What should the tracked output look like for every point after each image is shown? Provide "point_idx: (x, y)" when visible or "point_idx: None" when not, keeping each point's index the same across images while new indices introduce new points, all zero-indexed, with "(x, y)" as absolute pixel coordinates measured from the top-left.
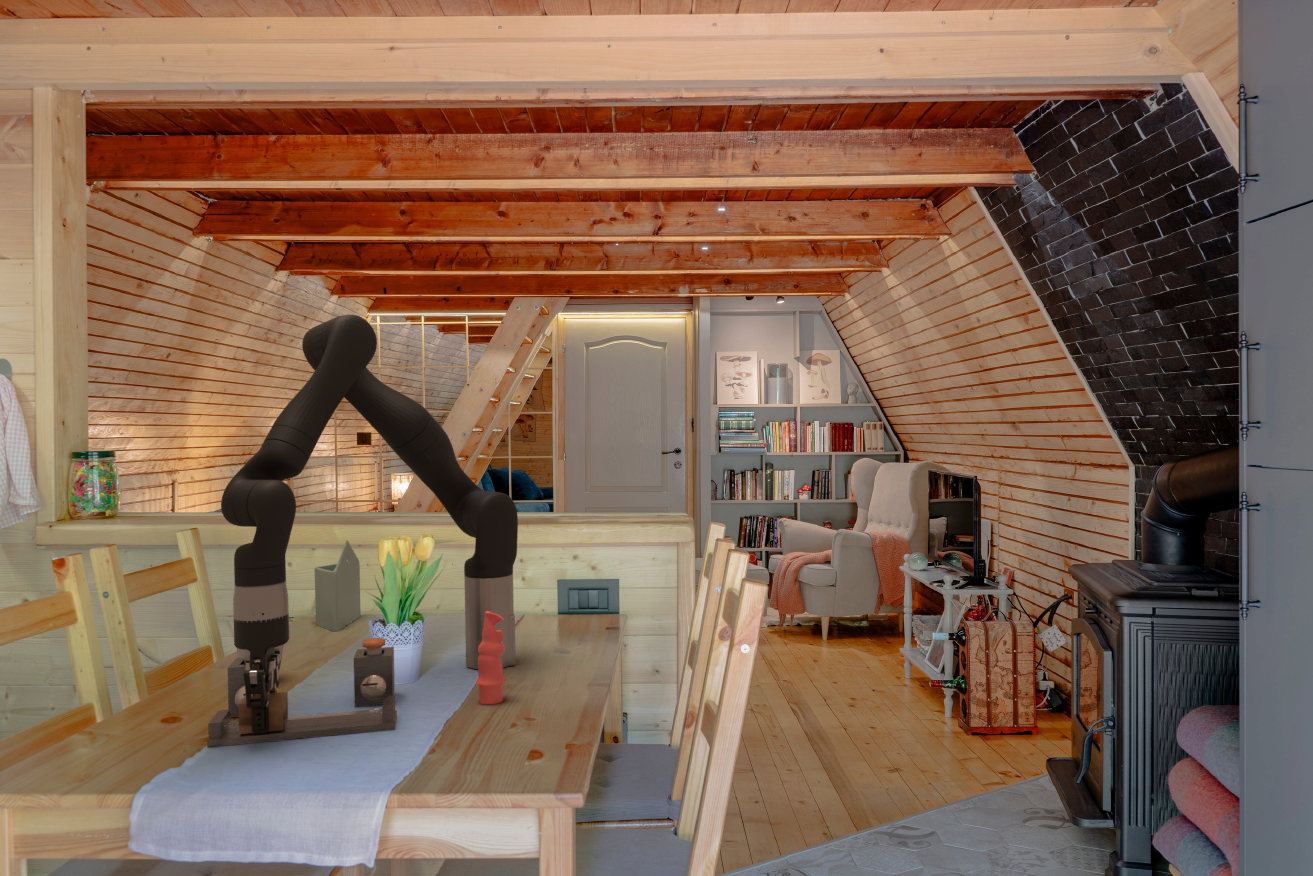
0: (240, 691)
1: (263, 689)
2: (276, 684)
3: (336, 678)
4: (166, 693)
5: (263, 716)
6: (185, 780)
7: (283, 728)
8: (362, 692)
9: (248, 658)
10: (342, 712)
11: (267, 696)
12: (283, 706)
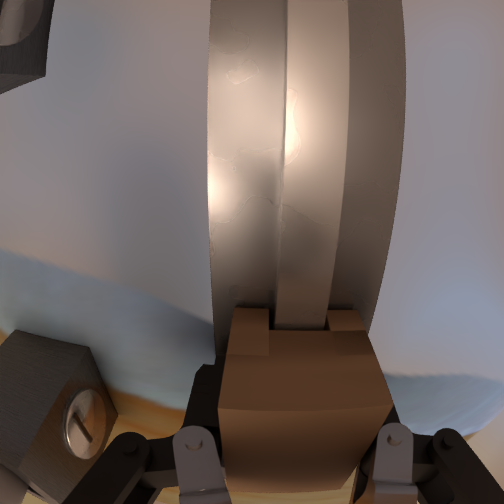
0: (89, 452)
1: (497, 483)
2: (149, 455)
3: None
4: None
5: (393, 405)
6: (480, 402)
7: (348, 312)
8: (14, 39)
9: (21, 497)
10: (298, 52)
11: (412, 463)
12: (359, 376)
